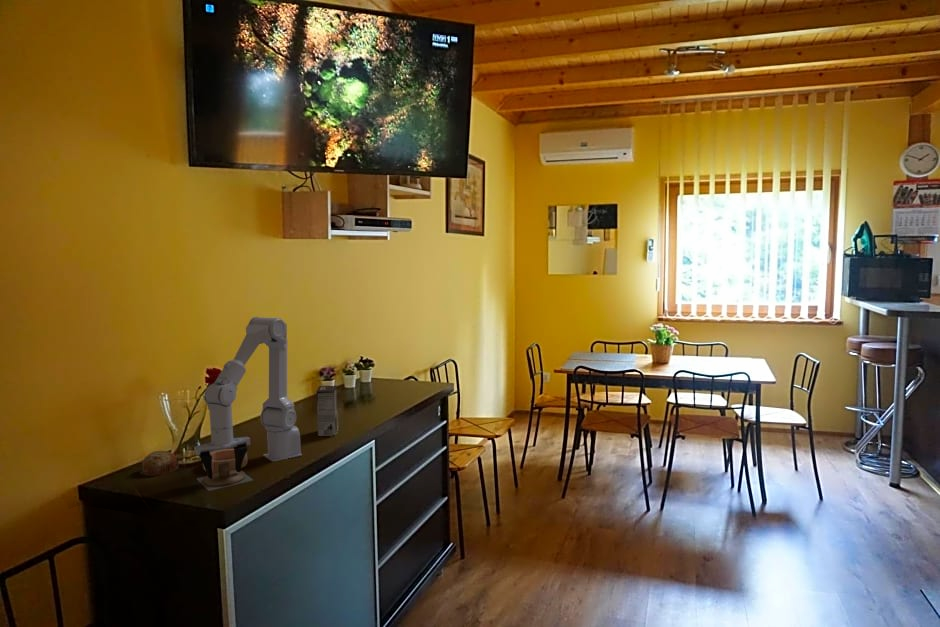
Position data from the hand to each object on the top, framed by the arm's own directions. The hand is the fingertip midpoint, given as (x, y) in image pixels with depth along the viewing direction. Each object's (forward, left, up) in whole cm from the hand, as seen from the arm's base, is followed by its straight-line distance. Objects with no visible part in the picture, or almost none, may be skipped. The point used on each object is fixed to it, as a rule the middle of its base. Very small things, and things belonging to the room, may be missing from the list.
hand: (224, 474), depth 175 cm
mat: (0, 0, -2) cm, 2 cm away
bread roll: (+12, -21, -2) cm, 24 cm away
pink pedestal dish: (0, 0, -1) cm, 1 cm away
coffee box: (-43, -24, -2) cm, 49 cm away
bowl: (-4, -12, -2) cm, 13 cm away
